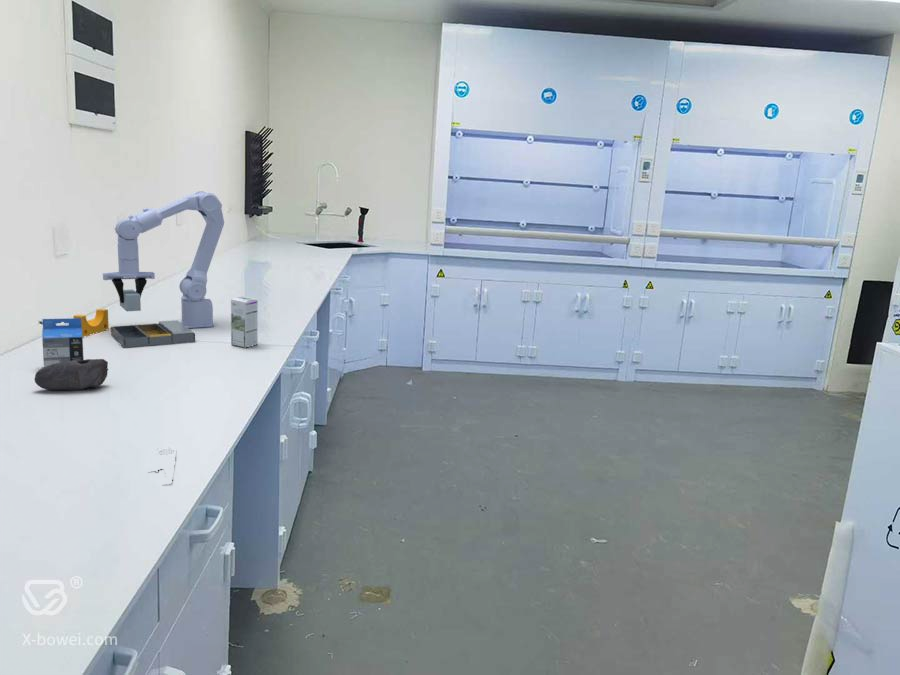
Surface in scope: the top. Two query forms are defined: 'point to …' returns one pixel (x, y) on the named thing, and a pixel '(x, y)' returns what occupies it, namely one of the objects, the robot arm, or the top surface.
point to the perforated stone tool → (73, 375)
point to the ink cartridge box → (62, 341)
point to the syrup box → (244, 321)
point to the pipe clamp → (94, 322)
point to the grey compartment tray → (152, 334)
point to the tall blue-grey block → (131, 300)
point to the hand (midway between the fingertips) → (130, 302)
